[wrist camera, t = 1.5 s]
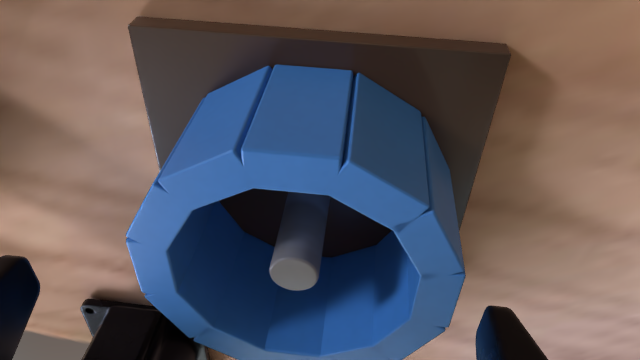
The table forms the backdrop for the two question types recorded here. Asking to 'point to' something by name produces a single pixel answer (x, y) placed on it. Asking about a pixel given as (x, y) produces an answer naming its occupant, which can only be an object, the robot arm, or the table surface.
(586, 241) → the table surface
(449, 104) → the tape stand
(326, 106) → the tape roll
